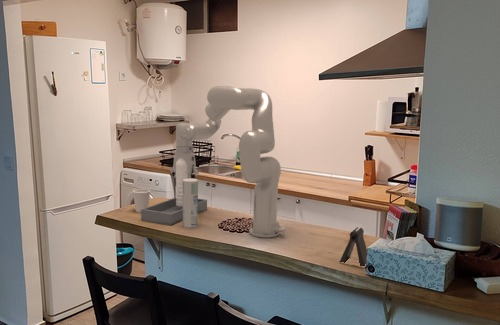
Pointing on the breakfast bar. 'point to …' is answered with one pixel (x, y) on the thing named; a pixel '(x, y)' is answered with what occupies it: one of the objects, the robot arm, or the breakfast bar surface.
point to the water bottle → (180, 180)
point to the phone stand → (360, 244)
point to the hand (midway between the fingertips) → (184, 186)
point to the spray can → (190, 203)
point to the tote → (168, 212)
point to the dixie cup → (141, 198)
